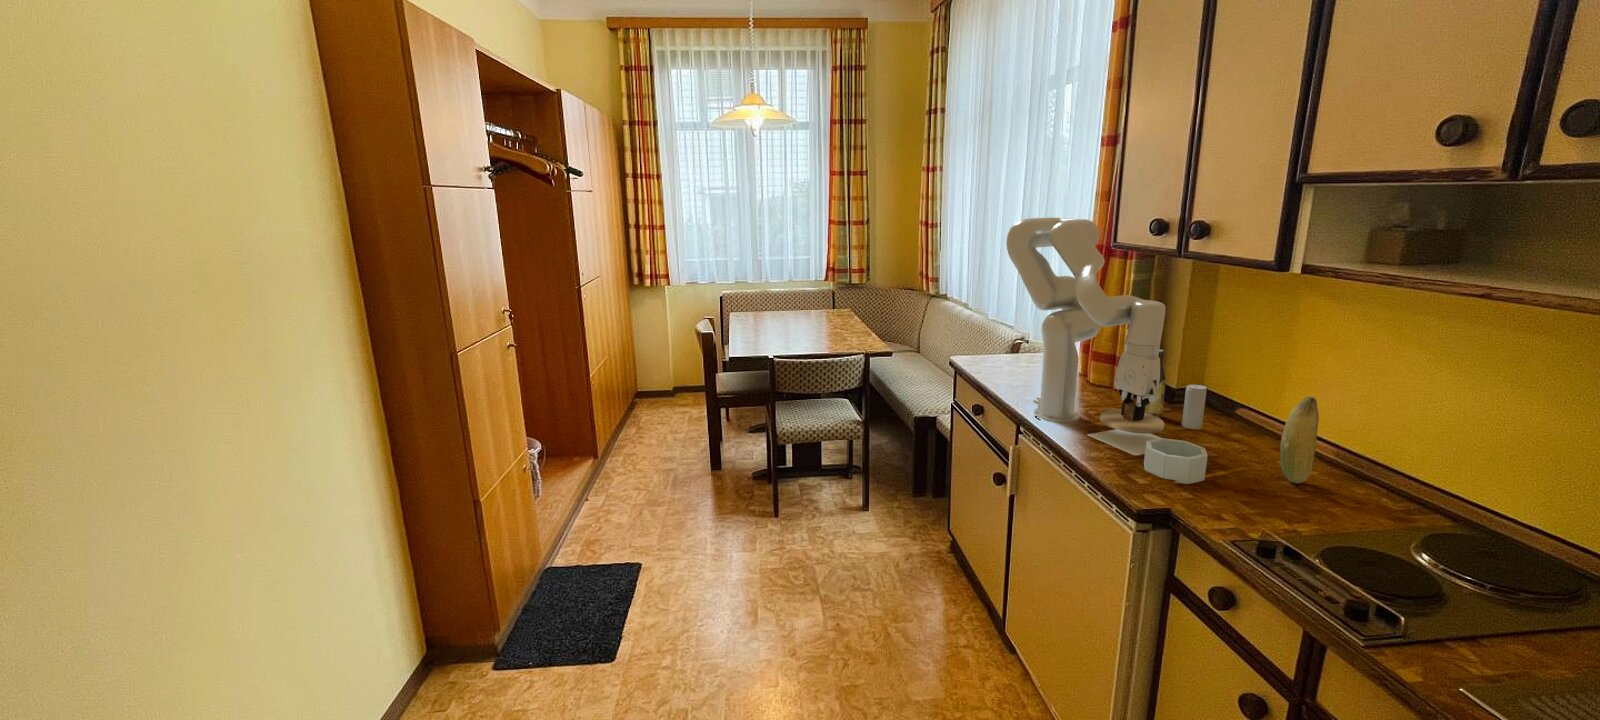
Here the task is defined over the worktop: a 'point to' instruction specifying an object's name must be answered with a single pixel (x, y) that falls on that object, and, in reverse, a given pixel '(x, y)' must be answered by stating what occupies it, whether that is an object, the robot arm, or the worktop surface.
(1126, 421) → the lid
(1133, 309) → the robot arm
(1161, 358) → the sauce bottle
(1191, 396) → the beverage can
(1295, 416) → the vegetable
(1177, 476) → the bowl
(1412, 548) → the worktop surface
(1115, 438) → the mat
